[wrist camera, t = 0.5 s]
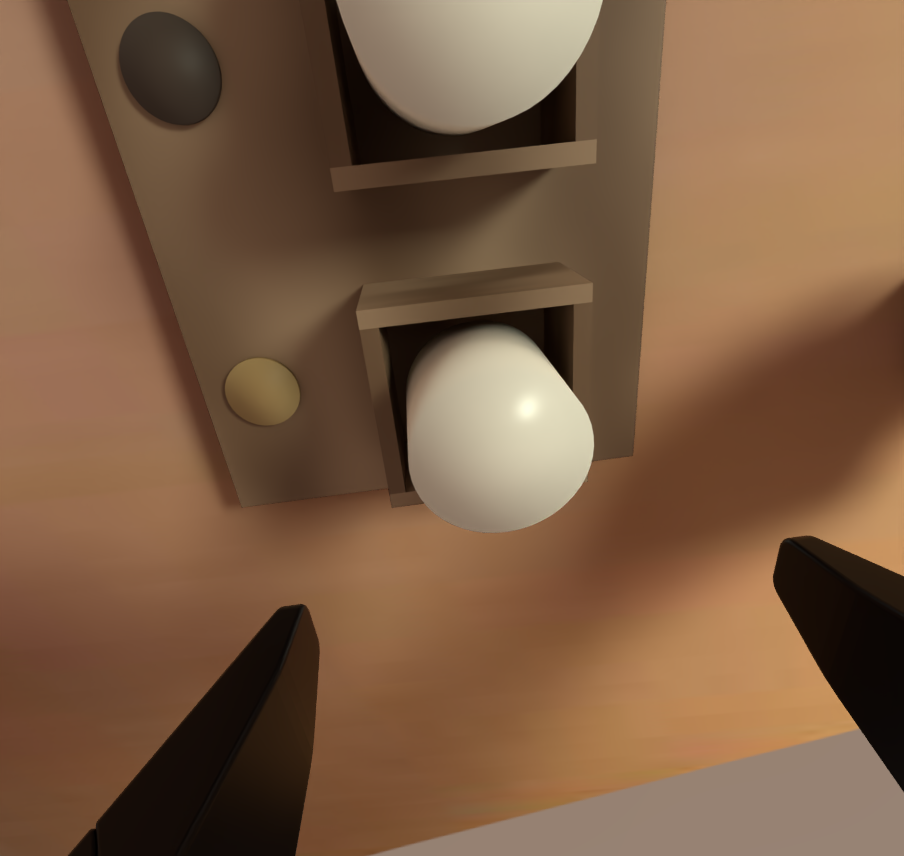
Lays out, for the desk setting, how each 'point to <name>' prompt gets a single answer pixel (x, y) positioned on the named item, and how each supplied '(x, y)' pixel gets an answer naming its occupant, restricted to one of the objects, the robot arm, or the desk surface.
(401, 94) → the button
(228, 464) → the board
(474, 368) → the button
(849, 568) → the robot arm
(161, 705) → the desk surface
